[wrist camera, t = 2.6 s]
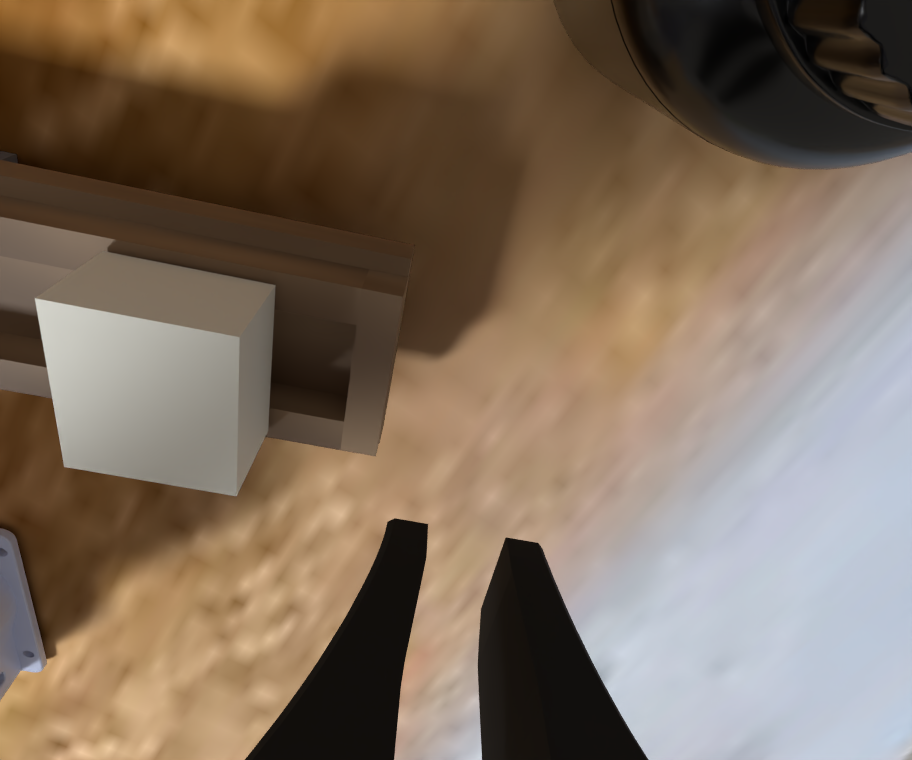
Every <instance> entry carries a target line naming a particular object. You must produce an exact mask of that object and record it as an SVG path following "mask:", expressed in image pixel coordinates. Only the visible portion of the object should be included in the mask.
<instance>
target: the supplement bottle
mask: <svg viewBox="0 0 912 760" xmlns="http://www.w3.org/2000/svg"><path fill="white" fill-rule="evenodd" d="M554 4H555V7H556V10H557V12H558V15H559V18H560V20H561V22H562V24H563V26H564V28H565V30H566V32H567V34H568V36H569V38H570V39H571V41H572V42H573V44H574V45H575V47H576V48H577V50H578V51H579V52H580V53H581V55H582V56H583V57H584V58H585V59H586V60H587V61H588V62H589V63H590V64H591V65H592V66H593V67H594V68H595V69H596V70H597V71H598V72H600V73H601V74H602V75H603V76H605V77H606V78H607V79H609V80H610V81H611V82H613V83H614V84H616V85H618V86H619V87H621V88H622V89H624V90H625V91H627V92H629V93H630V94H632V95H633V96H635V97H637V98H638V99H640V100H641V101H643V102H645V103H646V104H648V105H649V106H651V107H653V108H654V109H656V110H657V111H659V112H661V113H662V114H664V115H665V116H667V117H669V118H670V119H672V120H673V121H675V122H677V123H678V124H680V125H681V126H683V127H685V128H686V129H688V130H689V131H691V132H693V133H694V134H696V135H697V136H699V137H701V138H702V139H704V140H706V141H707V142H709V143H711V144H713V145H716V146H718V147H720V148H722V149H724V150H726V151H729V152H731V153H733V154H736V155H739V156H741V157H744V158H747V159H750V160H753V161H756V162H760V163H764V164H769V165H773V166H778V167H785V168H794V169H837V168H847V167H855V166H860V165H866V164H871V163H876V162H880V161H884V160H887V159H891V158H894V157H898V156H902V155H905V154H908V153H911V152H912V0H554Z"/></svg>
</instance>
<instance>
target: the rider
mask: <svg viewBox="0 0 912 760" xmlns="http://www.w3.org/2000/svg"><path fill="white" fill-rule="evenodd" d="M275 287H276V285H272V284H267V283H262V282H257V281H252V280H247V279H242V278H237V277H232V276H227V275H222V274H217V273H211V272H206V271H201V270H196V269H191V268H186V267H181V266H176V265H171V264H166V263H161V262H156V261H151V260H146V259H141V258H135V257H130V256H125V255H120V254H115V253H110V252H105V251H102V252H100V253H99V254H98V255H96V256H95V257H93V258H92V259H90V260H89V261H88V262H86V263H85V264H83V265H82V266H80V267H79V268H78V269H76V270H75V271H73V272H72V273H70V274H69V275H67V276H66V277H65V278H63V279H62V280H60V281H59V282H57V283H56V284H55V285H53V286H52V287H50V288H49V289H47V290H46V291H44V292H43V293H42V294H40V295H39V296H37V297H36V298H35V302H36V308H37V314H38V320H39V325H40V331H41V337H42V343H43V348H44V354H45V360H46V365H47V371H48V377H49V383H50V388H51V394H52V400H53V405H54V411H55V417H56V423H57V428H58V434H59V440H60V446H61V451H62V457H63V463H64V467H67V468H73V469H79V470H85V471H91V472H97V473H103V474H108V475H114V476H120V477H126V478H132V479H138V480H144V481H149V482H155V483H161V484H167V485H173V486H179V487H184V488H190V489H196V490H202V491H208V492H214V493H220V494H225V495H231V496H237V495H238V492H239V490H240V488H241V486H242V484H243V482H244V480H245V478H246V476H247V474H248V472H249V470H250V468H251V465H252V463H253V461H254V459H255V457H256V455H257V453H258V451H259V449H260V447H261V445H262V443H263V441H264V438H265V436H266V434H267V432H268V424H269V404H270V385H271V365H272V345H273V326H274V306H275Z"/></svg>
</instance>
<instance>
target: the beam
mask: <svg viewBox="0 0 912 760" xmlns="http://www.w3.org/2000/svg"><path fill="white" fill-rule="evenodd" d="M414 247H415V245H412V244H407V243H402V242H397V241H392V240H388V239H383V238H378V237H373V236H368V235H363V234H358V233H354V232H349V231H344V230H339V229H334V228H329V227H324V226H320V225H315V224H310V223H305V222H300V221H295V220H290V219H286V218H281V217H276V216H271V215H266V214H261V213H256V212H252V211H247V210H242V209H237V208H232V207H227V206H222V205H218V204H213V203H208V202H203V201H198V200H193V199H188V198H184V197H179V196H174V195H169V194H164V193H159V192H154V191H150V190H145V189H140V188H135V187H130V186H125V185H120V184H116V183H111V182H106V181H101V180H96V179H91V178H86V177H82V176H77V175H72V174H67V173H62V172H57V171H52V170H47V169H43V168H38V167H33V166H28V165H23V164H18V160H17V154H13V153H8V152H3V151H0V389H2V390H7V391H13V392H18V393H24V394H30V395H35V396H41V397H46V398H52V394H51V388H50V383H49V377H48V371H47V365H46V360H45V354H44V348H43V343H42V337H41V331H40V325H39V320H38V314H37V308H36V302H35V298H36V297H37V296H39V295H40V294H42V293H43V292H44V291H46V290H47V289H49V288H50V287H52V286H53V285H55V284H56V283H57V282H59V281H60V280H62V279H63V278H65V277H66V276H67V275H69V274H70V273H72V272H73V271H75V270H76V269H78V268H79V267H80V266H82V265H83V264H85V263H86V262H88V261H89V260H90V259H92V258H93V257H95V256H96V255H98V254H99V253H100V252H102V251H105V252H110V253H115V254H120V255H125V256H130V257H135V258H141V259H146V260H151V261H156V262H161V263H166V264H171V265H176V266H181V267H186V268H191V269H196V270H201V271H206V272H211V273H217V274H222V275H227V276H232V277H237V278H242V279H247V280H252V281H257V282H262V283H267V284H272V285H276V287H275V306H274V326H273V345H272V365H271V385H270V404H269V424H268V432H267V434H266V436H265V437H270V438H276V439H281V440H287V441H292V442H298V443H304V444H309V445H315V446H320V447H326V448H332V449H337V450H343V451H348V452H354V453H360V454H365V455H371V456H376V453H377V449H378V444H379V443H380V438H381V434H382V430H383V425H384V420H385V414H386V408H387V402H388V397H389V391H390V385H391V379H392V374H393V368H394V362H395V356H396V351H397V345H398V339H399V333H400V328H401V322H402V316H403V310H404V305H405V299H406V293H407V287H408V282H409V276H410V270H411V264H412V259H413V253H414Z"/></svg>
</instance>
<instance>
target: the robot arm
mask: <svg viewBox="0 0 912 760" xmlns="http://www.w3.org/2000/svg"><path fill="white" fill-rule="evenodd" d="M427 533H428V524H424V523H418V522H413V521H407V520H401V519H393V520H391V521H389V522H387V527H386V531H385V535H384V538H383V541H382V544H381V547H380V549H379V552H378V554H377V557H376V559H375V561H374V563H373V566H372V568H371V570H370V572H369V574H368V576H367V578H366V580H365V582H364V584H363V586H362V588H361V590H360V592H359V593H358V595H357V597H356V599H355V601H354V603H353V605H352V607H351V608H350V610H349V612H348V614H347V616H346V617H345V619H344V621H343V622H342V624H341V626H340V627H339V629H338V630H337V632H336V634H335V635H334V637H333V638H332V640H331V642H330V643H329V645H328V646H327V648H326V650H325V651H324V653H323V654H322V656H321V658H320V659H319V661H318V662H317V664H316V665H315V667H314V668H313V670H312V671H311V673H310V674H309V676H308V677H307V678H306V680H305V681H304V683H303V684H302V686H301V687H300V688H299V690H298V691H297V693H296V694H295V695H294V697H293V698H292V699H291V701H290V702H289V704H288V705H287V706H286V708H285V709H284V710H283V712H282V713H281V714H280V716H279V717H278V718H277V720H276V721H275V722H274V723H273V725H272V726H271V727H270V729H269V730H268V731H267V732H266V734H265V735H264V736H263V738H262V739H261V740H260V741H259V743H258V744H257V745H256V747H255V748H254V749H253V750H252V752H251V753H250V754H249V755H248V757H247V758H246V759H245V760H394V753H395V742H396V731H397V721H398V710H399V699H400V689H401V681H402V675H403V669H404V662H405V657H406V652H407V647H408V643H409V638H410V633H411V628H412V623H413V619H414V614H415V609H416V604H417V600H418V595H419V590H420V585H421V580H422V576H423V571H424V566H425V561H426V553H427ZM46 664H47V660H46V656H45V652H44V648H43V643H42V639H41V635H40V631H39V627H38V623H37V619H36V615H35V611H34V607H33V603H32V599H31V595H30V591H29V587H28V583H27V579H26V575H25V571H24V567H23V563H22V559H21V555H20V551H19V547H18V543H17V539H16V537H15V535H14V534H13V533H12V532H10V531H8V530H6V529H2V528H0V700H1V699H2V697H3V696H4V694H5V693H6V692H7V690H8V689H9V687H10V686H11V684H12V683H13V681H14V680H15V678H16V677H17V675H18V674H19V672H20V671H21V670H22V671H29V672H40V671H42V670H43V669H44V667H45V666H46ZM478 681H479V703H480V724H481V744H482V760H648V758H647V757H646V755H645V754H644V752H643V751H642V749H641V747H640V746H639V744H638V743H637V741H636V739H635V738H634V736H633V734H632V733H631V731H630V729H629V728H628V726H627V724H626V723H625V721H624V719H623V718H622V716H621V714H620V712H619V711H618V709H617V707H616V705H615V703H614V702H613V700H612V698H611V696H610V694H609V693H608V691H607V689H606V687H605V685H604V684H603V682H602V680H601V678H600V676H599V674H598V672H597V670H596V668H595V666H594V664H593V663H592V661H591V659H590V656H589V654H588V652H587V650H586V648H585V646H584V644H583V642H582V640H581V638H580V636H579V634H578V632H577V630H576V628H575V626H574V623H573V621H572V619H571V617H570V615H569V613H568V610H567V608H566V606H565V603H564V601H563V599H562V597H561V594H560V592H559V590H558V587H557V585H556V582H555V580H554V578H553V575H552V573H551V570H550V568H549V565H548V562H547V560H546V557H545V555H544V552H543V549H542V548H541V546H540V545H539V543H535V542H529V541H523V540H517V539H512V538H506V539H505V541H504V544H503V547H502V550H501V553H500V556H499V559H498V562H497V565H496V567H495V570H494V573H493V576H492V579H491V582H490V585H489V588H488V591H487V593H486V596H485V599H484V602H483V605H482V608H481V619H480V634H479V652H478Z"/></svg>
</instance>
